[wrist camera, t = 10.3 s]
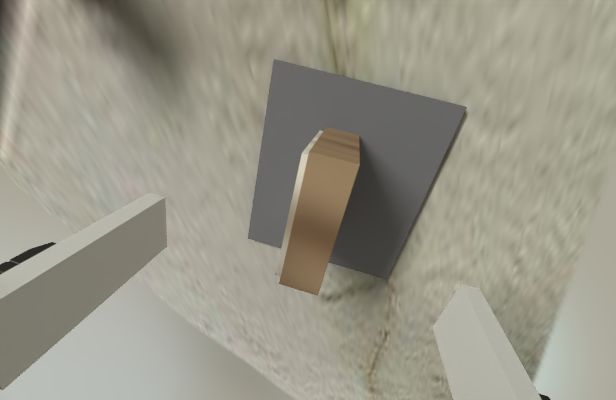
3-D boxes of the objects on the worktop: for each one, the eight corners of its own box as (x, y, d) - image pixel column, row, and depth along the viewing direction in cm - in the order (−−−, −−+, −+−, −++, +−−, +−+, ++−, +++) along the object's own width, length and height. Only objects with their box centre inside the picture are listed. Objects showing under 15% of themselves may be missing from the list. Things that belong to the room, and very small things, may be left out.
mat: (276, 59, 20) (273, 59, 19) (463, 106, 19) (466, 106, 18) (250, 235, 27) (247, 238, 26) (386, 275, 26) (386, 279, 25)
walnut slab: (321, 125, 20) (301, 149, 13) (359, 135, 20) (359, 164, 13) (298, 222, 24) (273, 281, 17) (329, 231, 24) (317, 295, 17)
